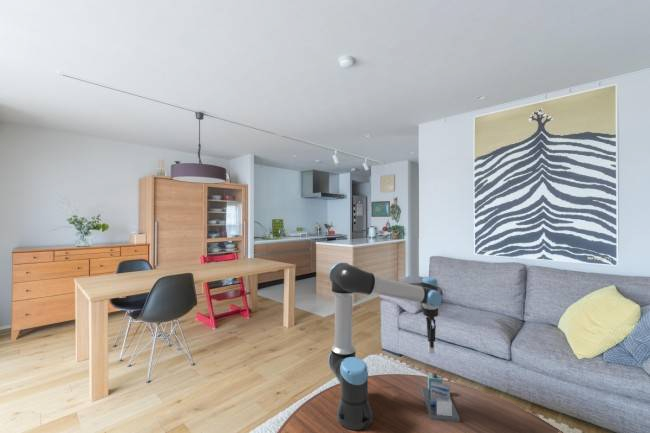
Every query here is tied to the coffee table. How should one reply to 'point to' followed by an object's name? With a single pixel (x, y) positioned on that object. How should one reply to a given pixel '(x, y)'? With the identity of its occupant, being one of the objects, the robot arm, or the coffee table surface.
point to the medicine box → (439, 391)
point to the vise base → (433, 408)
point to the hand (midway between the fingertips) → (431, 352)
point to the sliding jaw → (433, 379)
